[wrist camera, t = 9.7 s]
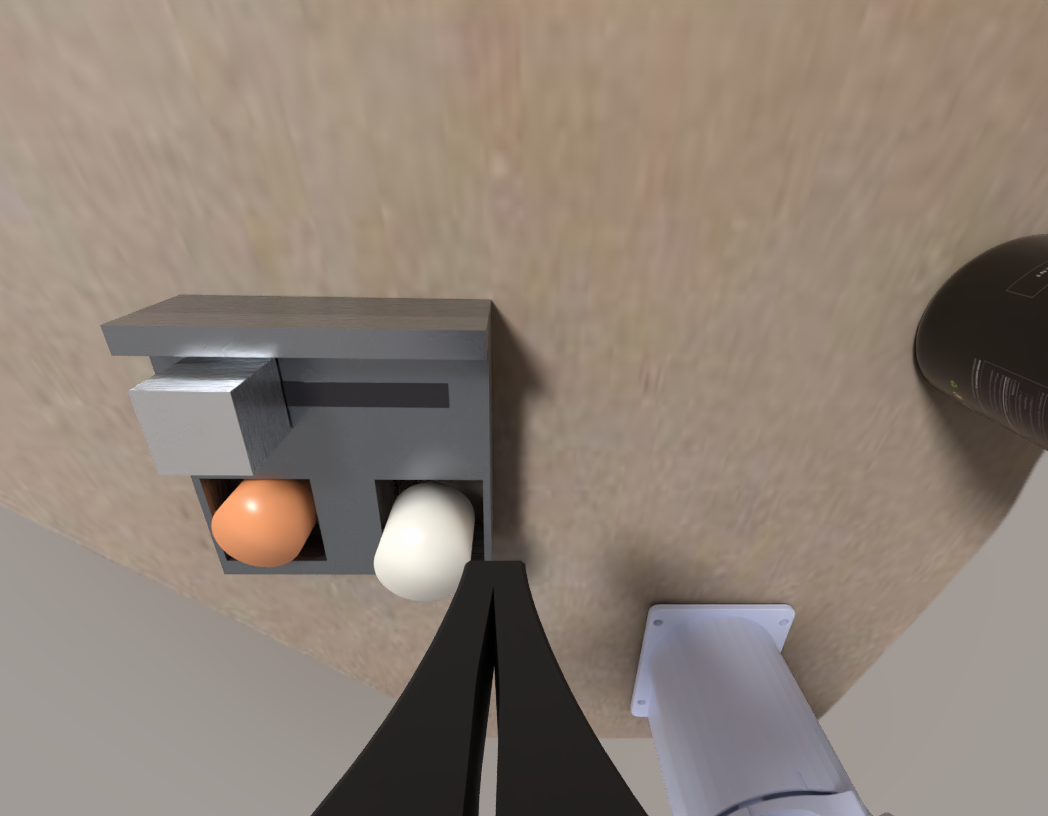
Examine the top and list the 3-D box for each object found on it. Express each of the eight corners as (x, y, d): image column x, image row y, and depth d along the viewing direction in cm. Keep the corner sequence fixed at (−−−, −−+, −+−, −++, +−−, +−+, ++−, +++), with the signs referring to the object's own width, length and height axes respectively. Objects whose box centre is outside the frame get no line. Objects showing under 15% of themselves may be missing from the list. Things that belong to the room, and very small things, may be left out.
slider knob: (291, 430, 18) (253, 475, 16) (211, 430, 18) (159, 474, 16) (274, 356, 17) (230, 391, 14) (188, 355, 17) (127, 390, 14)
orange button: (333, 521, 23) (309, 567, 21) (257, 520, 23) (224, 567, 20) (320, 458, 22) (293, 498, 19) (239, 457, 22) (200, 498, 19)
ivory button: (476, 548, 22) (470, 601, 19) (396, 547, 22) (379, 601, 19) (473, 482, 20) (467, 530, 18) (387, 481, 20) (368, 530, 17)
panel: (493, 536, 24) (489, 600, 21) (251, 536, 24) (205, 601, 20) (491, 299, 19) (485, 330, 15) (179, 294, 19) (100, 325, 15)
